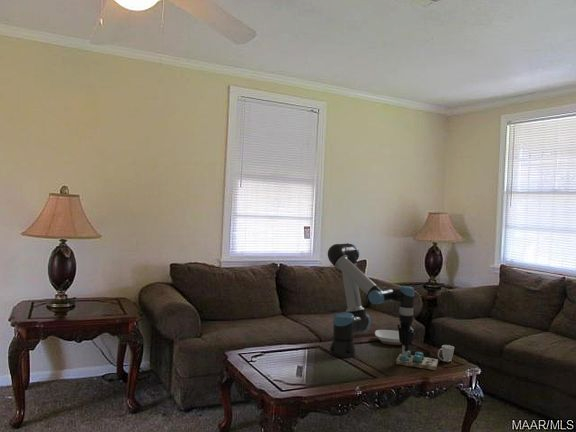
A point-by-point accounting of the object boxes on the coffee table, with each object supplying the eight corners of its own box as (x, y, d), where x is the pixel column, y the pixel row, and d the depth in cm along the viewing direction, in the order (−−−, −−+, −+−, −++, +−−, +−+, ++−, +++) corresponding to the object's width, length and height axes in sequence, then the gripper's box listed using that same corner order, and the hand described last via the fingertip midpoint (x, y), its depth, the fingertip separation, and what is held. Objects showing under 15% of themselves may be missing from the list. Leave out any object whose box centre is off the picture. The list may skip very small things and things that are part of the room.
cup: (456, 362, 268) (457, 348, 268) (441, 363, 265) (442, 349, 265) (448, 358, 275) (449, 344, 274) (434, 359, 271) (434, 345, 271)
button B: (401, 356, 267) (402, 351, 267) (403, 354, 271) (403, 349, 271) (409, 358, 266) (409, 352, 266) (410, 355, 270) (411, 350, 270)
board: (396, 363, 261) (396, 359, 261) (400, 357, 274) (400, 352, 273) (435, 370, 253) (435, 365, 252) (437, 362, 265) (438, 358, 265)
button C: (412, 362, 259) (413, 356, 259) (413, 359, 263) (414, 354, 263) (421, 363, 257) (421, 357, 257) (422, 361, 261) (422, 355, 261)
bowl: (374, 345, 296) (374, 337, 296) (374, 336, 318) (374, 328, 318) (409, 348, 293) (410, 339, 293) (407, 339, 314) (407, 331, 314)
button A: (399, 362, 261) (400, 357, 261) (401, 360, 265) (401, 355, 265) (407, 364, 260) (408, 358, 260) (409, 361, 264) (409, 356, 264)
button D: (414, 358, 265) (414, 353, 265) (415, 356, 269) (415, 351, 269) (422, 359, 263) (422, 354, 263) (423, 357, 267) (423, 352, 267)
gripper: (419, 316, 258) (417, 359, 258) (404, 311, 270) (403, 352, 270) (408, 317, 255) (406, 360, 255) (393, 312, 267) (392, 353, 267)
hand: (404, 356), depth 262 cm, fingers closed
